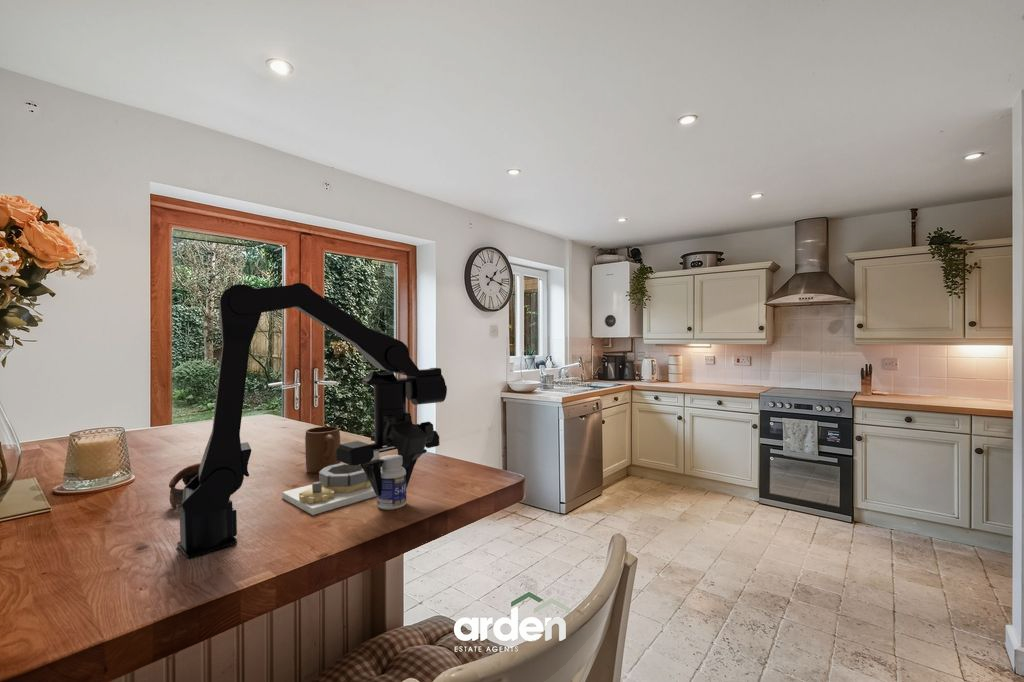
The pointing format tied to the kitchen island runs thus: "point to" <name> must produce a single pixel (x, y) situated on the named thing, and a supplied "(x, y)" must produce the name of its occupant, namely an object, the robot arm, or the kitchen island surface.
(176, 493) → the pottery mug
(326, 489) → the gear board
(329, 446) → the mug
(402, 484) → the pill bottle
